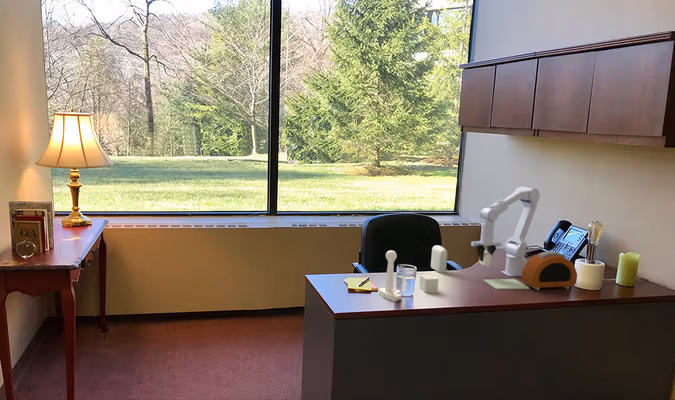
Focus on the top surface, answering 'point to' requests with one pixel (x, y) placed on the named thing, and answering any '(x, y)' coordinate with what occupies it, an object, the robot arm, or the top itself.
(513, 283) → the rubber mat
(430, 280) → the white cube
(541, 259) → the orange toaster
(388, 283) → the joystick
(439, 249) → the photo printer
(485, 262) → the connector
